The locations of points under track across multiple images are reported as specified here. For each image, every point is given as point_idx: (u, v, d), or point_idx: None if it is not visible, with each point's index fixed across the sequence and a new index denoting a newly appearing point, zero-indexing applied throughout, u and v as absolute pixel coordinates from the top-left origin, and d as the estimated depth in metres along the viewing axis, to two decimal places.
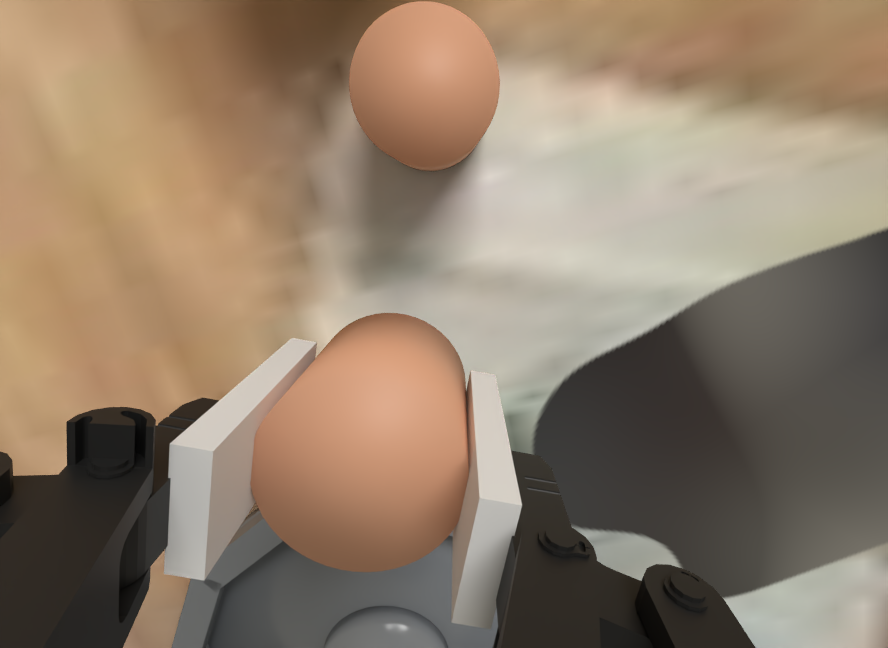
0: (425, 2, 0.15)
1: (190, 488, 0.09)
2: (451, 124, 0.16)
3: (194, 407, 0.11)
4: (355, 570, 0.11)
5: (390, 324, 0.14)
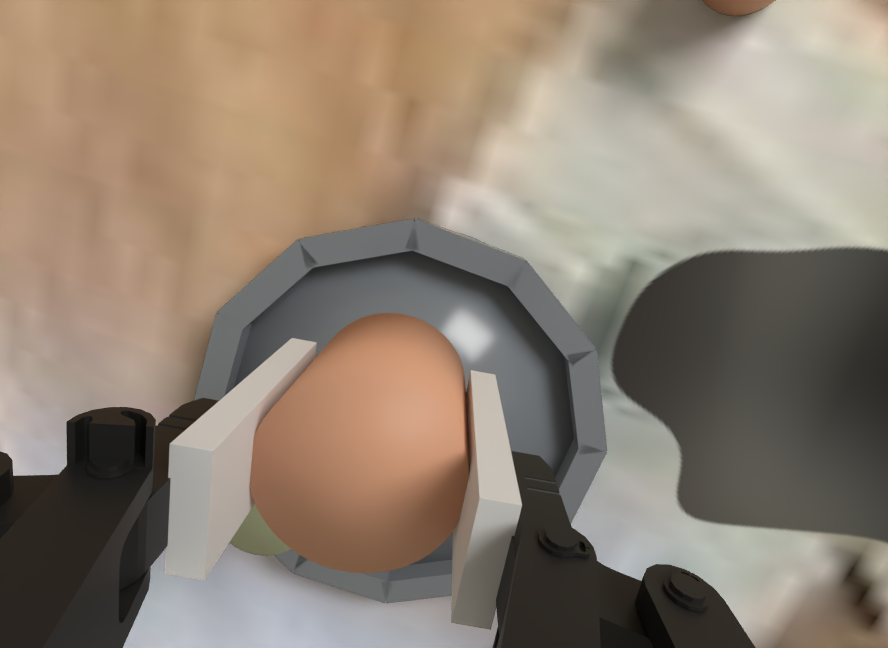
0: None
1: (189, 488, 0.09)
2: None
3: (194, 408, 0.11)
4: (354, 572, 0.11)
5: (390, 324, 0.14)
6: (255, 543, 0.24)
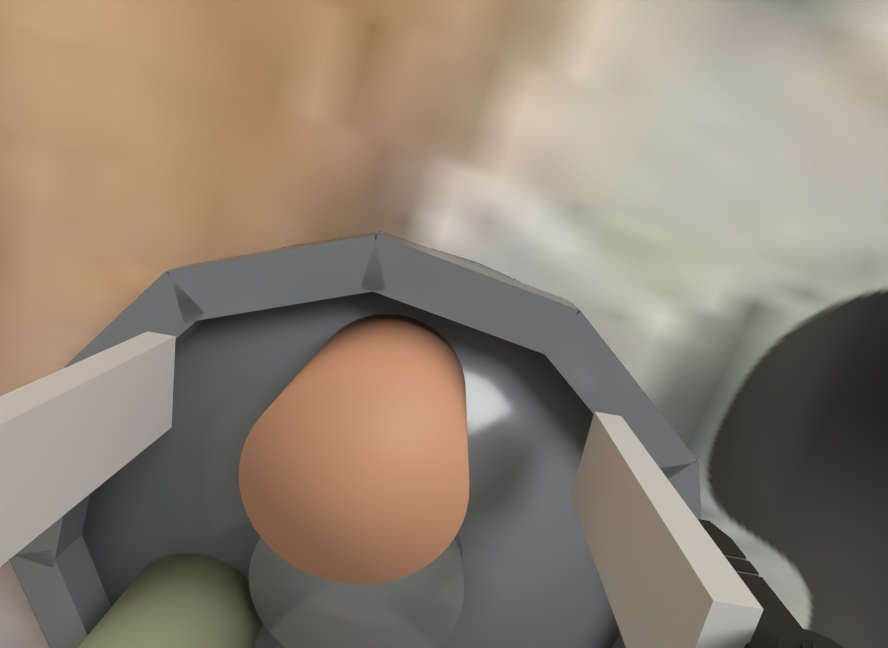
0: None
1: None
2: None
3: None
4: (350, 583, 0.11)
5: (387, 325, 0.14)
6: None
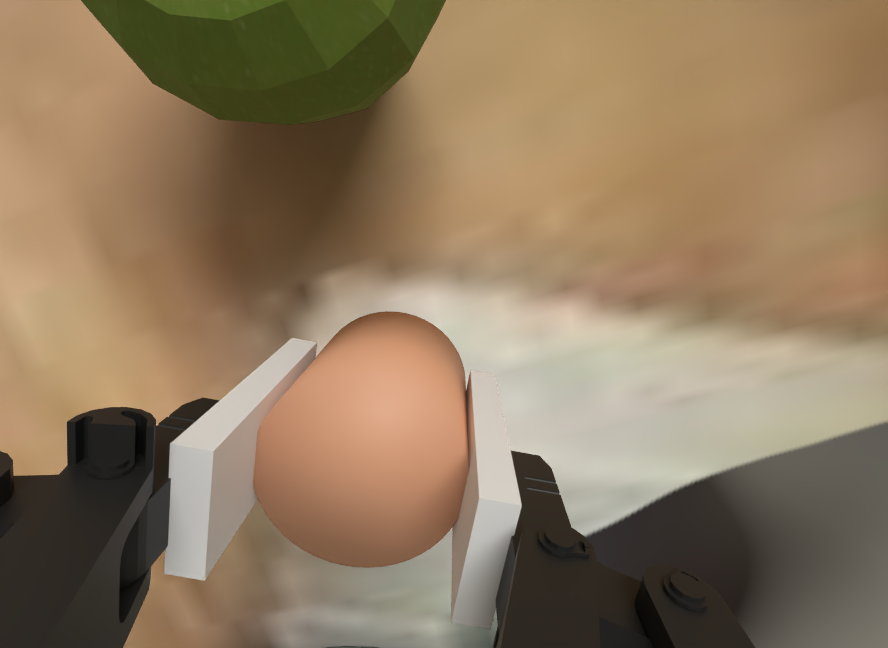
0: (358, 371, 0.10)
1: (190, 488, 0.09)
2: (401, 521, 0.11)
3: (194, 407, 0.11)
4: None
5: None
6: None
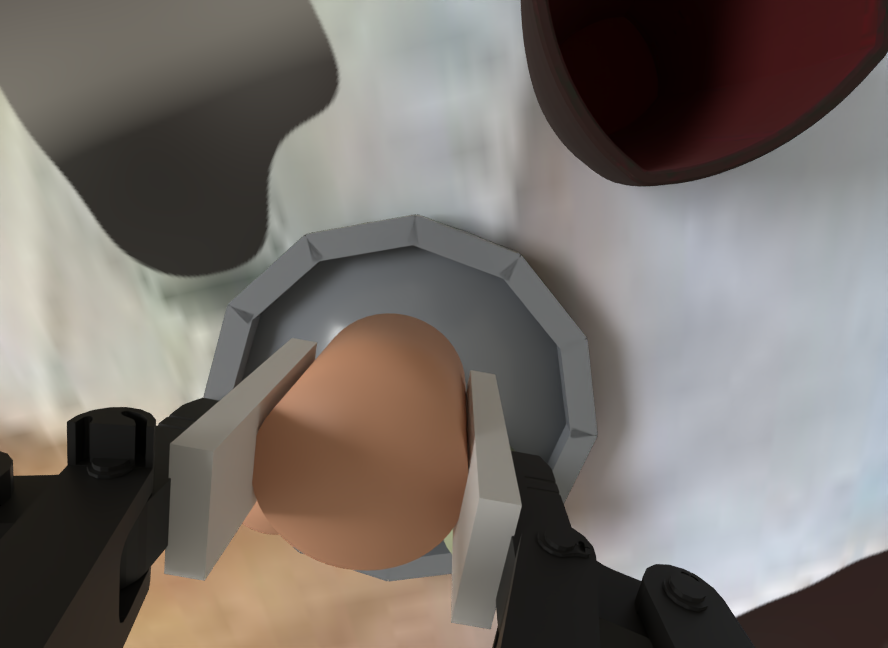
0: (357, 374, 0.10)
1: (190, 488, 0.09)
2: (400, 523, 0.11)
3: (195, 408, 0.11)
4: None
5: None
6: None
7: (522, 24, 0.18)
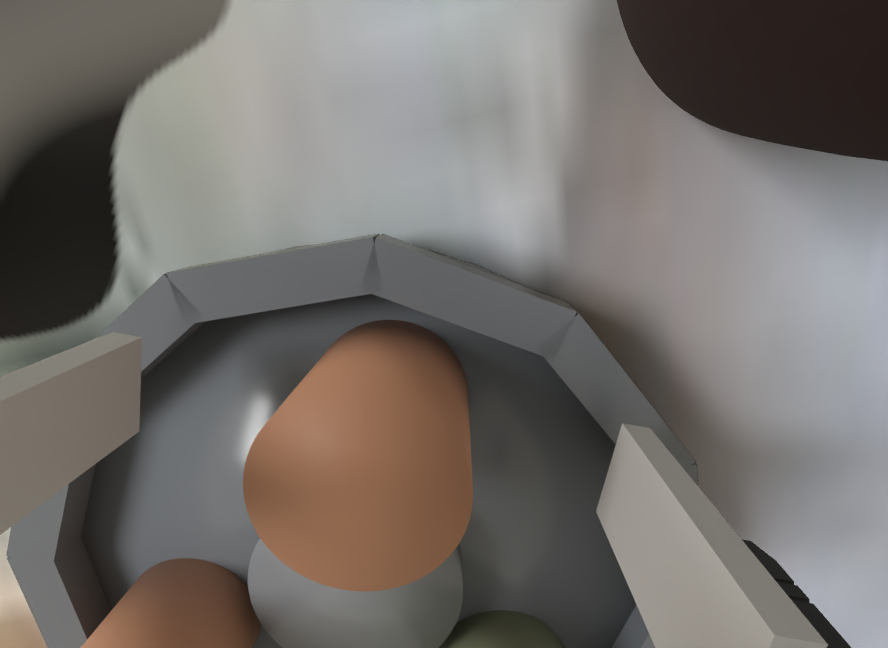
0: (356, 385, 0.10)
1: None
2: (400, 543, 0.11)
3: None
4: None
5: None
6: None
7: None
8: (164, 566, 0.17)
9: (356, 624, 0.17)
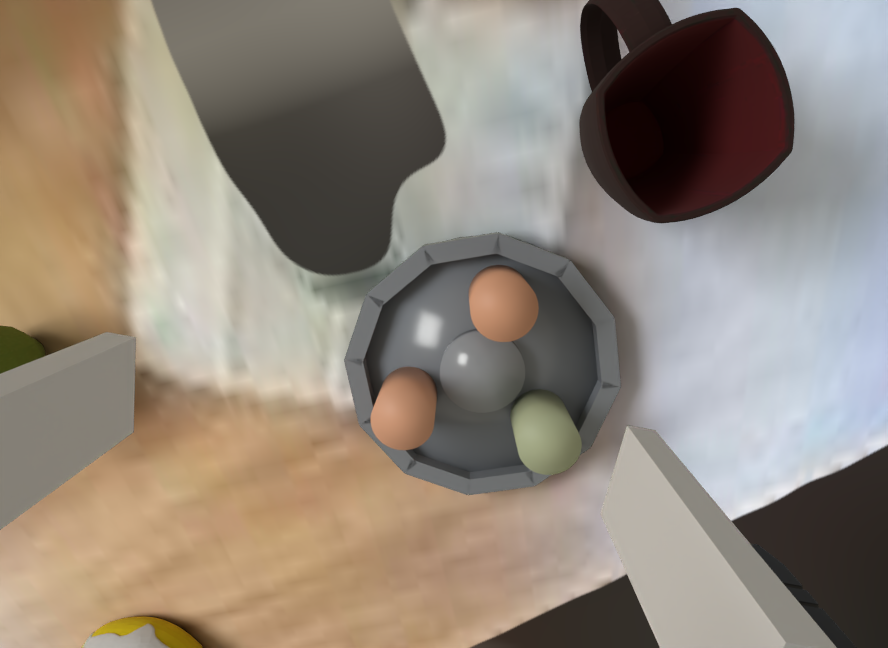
0: (506, 275, 0.35)
1: None
2: (516, 325, 0.35)
3: None
4: (430, 409, 0.37)
5: None
6: (572, 440, 0.37)
7: (584, 124, 0.30)
8: (401, 368, 0.42)
9: (481, 388, 0.41)
